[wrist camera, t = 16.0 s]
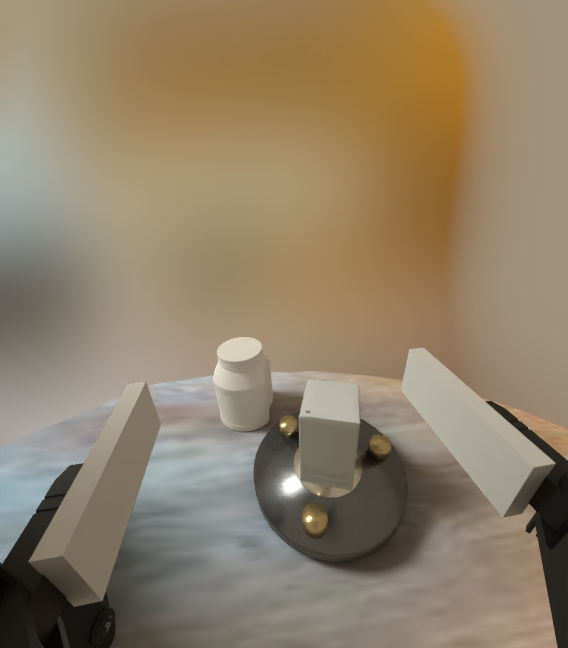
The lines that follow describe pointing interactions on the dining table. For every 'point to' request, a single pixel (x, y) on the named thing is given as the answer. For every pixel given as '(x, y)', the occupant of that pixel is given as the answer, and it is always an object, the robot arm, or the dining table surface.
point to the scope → (89, 624)
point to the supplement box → (329, 433)
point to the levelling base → (330, 496)
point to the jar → (243, 384)
